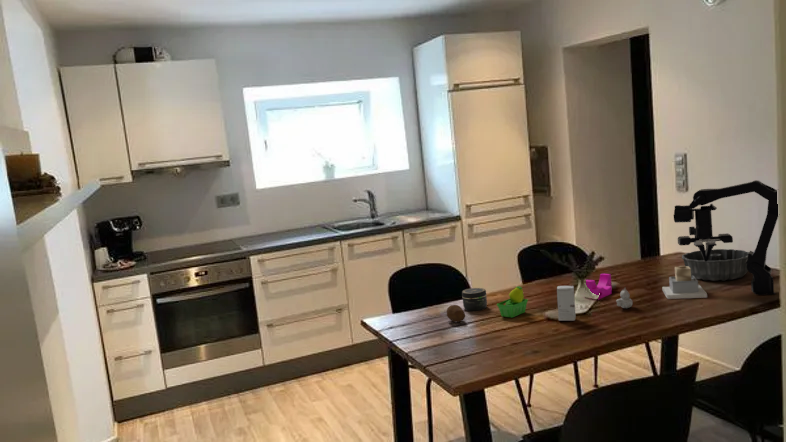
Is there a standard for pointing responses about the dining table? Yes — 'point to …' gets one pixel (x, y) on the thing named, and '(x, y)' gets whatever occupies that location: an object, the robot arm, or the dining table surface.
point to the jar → (474, 299)
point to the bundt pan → (717, 264)
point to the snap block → (683, 273)
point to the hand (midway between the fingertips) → (705, 261)
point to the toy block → (601, 286)
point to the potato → (455, 313)
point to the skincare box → (566, 303)
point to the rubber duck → (624, 299)
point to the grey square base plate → (684, 289)
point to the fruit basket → (513, 304)
